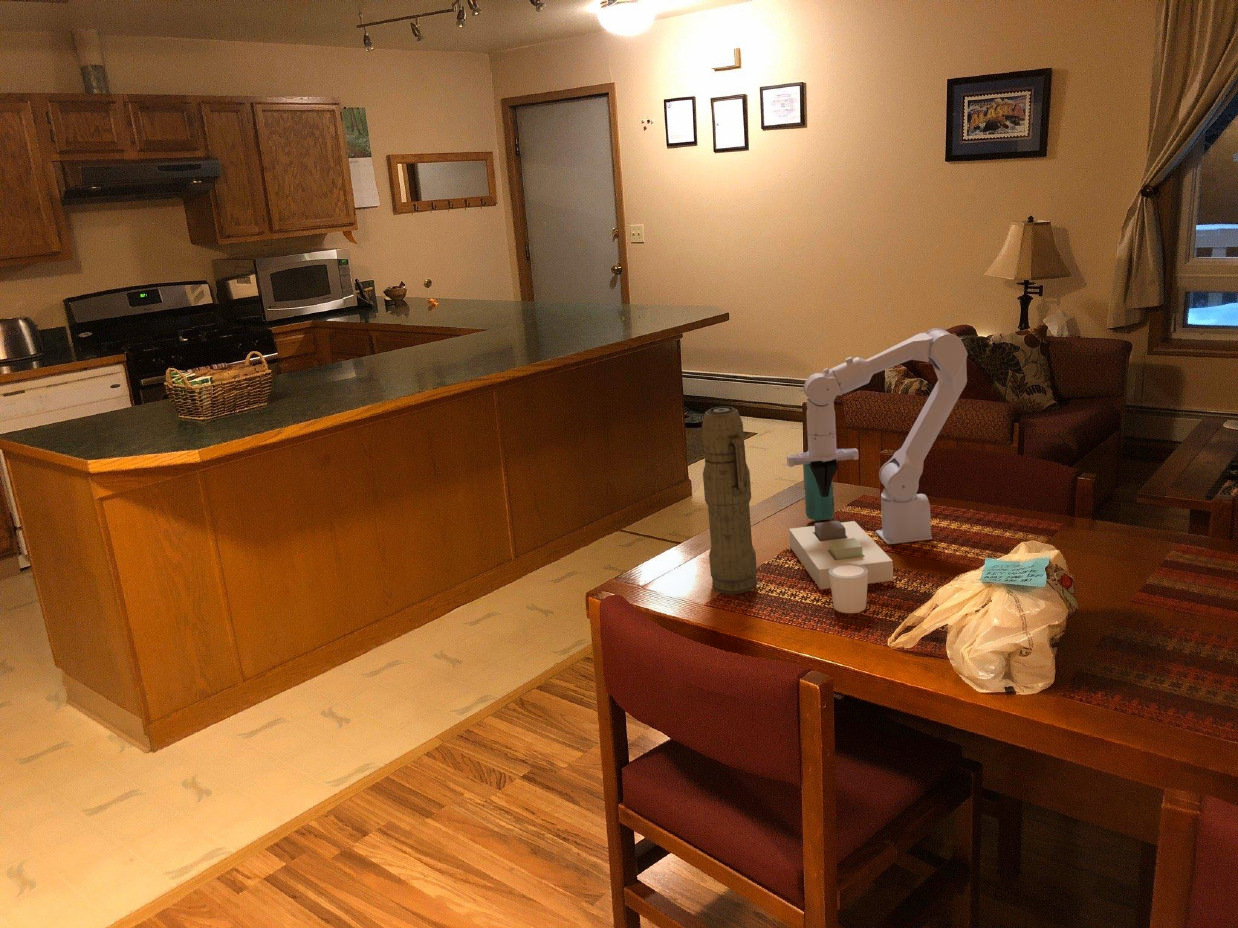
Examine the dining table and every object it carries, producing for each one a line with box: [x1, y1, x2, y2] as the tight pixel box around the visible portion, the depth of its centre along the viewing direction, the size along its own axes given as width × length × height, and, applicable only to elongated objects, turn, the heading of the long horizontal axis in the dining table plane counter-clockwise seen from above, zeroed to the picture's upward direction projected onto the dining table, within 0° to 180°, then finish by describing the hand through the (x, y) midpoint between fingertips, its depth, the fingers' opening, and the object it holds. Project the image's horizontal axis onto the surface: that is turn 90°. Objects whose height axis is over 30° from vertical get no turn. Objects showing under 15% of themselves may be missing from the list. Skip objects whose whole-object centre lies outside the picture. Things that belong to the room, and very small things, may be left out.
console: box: [788, 520, 894, 590], centre depth 195 cm, size 14×24×4 cm, turn 4°
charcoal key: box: [814, 520, 846, 541], centre depth 199 cm, size 5×5×3 cm
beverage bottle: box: [802, 436, 836, 521], centre depth 217 cm, size 6×7×20 cm
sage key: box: [829, 538, 862, 560], centre depth 189 cm, size 5×5×3 cm
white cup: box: [829, 564, 868, 614], centre depth 174 cm, size 7×7×7 cm
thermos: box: [701, 406, 758, 595], centre depth 185 cm, size 9×12×35 cm
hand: (824, 495), depth 204 cm, fingers closed
